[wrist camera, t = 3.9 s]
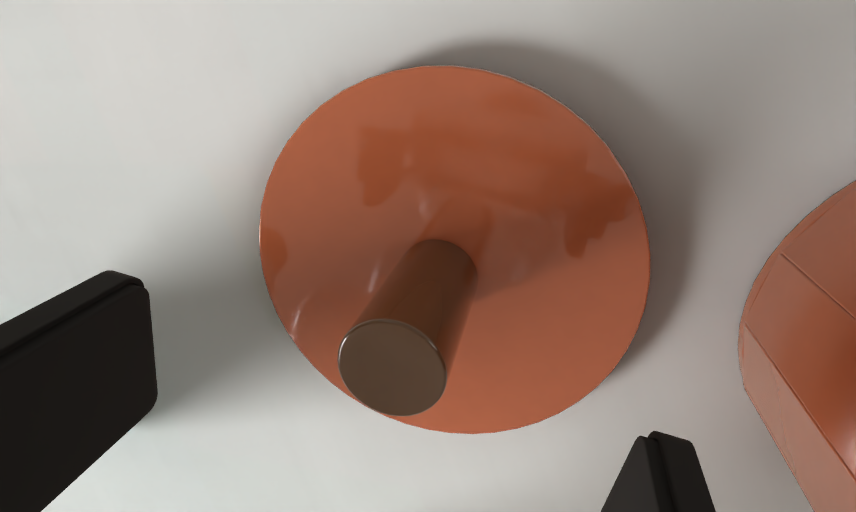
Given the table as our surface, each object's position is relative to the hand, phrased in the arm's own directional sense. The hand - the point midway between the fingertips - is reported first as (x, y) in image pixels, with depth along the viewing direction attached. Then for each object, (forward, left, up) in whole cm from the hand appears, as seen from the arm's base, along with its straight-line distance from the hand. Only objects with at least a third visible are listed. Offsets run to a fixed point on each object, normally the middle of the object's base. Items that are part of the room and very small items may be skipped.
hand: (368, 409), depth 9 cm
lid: (0, -1, -8) cm, 8 cm away
